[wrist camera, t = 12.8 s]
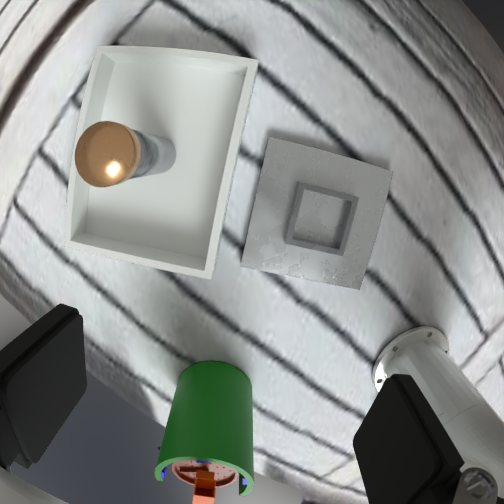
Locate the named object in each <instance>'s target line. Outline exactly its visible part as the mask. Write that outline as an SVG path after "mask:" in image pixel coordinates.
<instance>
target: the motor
mask: <svg viewBox="0 0 504 504" xmlns="http://www.w3.org/2000/svg"><path fill="white" fill-rule="evenodd" d="M171 463H172V471H173V473H174V474H175V475H176V476H177V477H178V478H179V479H180V480H182V481H184V482H186V483H188V484H191V485H194V493H193V502H192V504H214V499H215V489H216V488H219V487H225V486H228V485H230V484H232V483H234V482H235V481H236V480H237V478H238V472H239V495H240V496H243V497H244V496H246V495H247V494H249V493H250V492H251V491H252V489H253V487H254V466H253V415H252V386H251V383H250V380H249V379H248V377H247V376H246V375H245V374H244V373H243V372H242V371H241V370H239V369H238V368H236V367H234V366H232V365H230V364H227V363H223V362H218V361H204V362H199V363H196V364H193V365H191V366H189V367H188V368H187V369H185V370H184V371H183V372H182V374H181V376H180V378H179V381H178V384H177V388H176V392H175V395H174V399H173V403H172V406H171V410H170V414H169V418H168V421H167V425H166V429H165V433H164V437H163V441H162V445H161V449H160V452H159V457H158V460H157V464H156V469H155V477H156V479H157V480H159V481H163V479H164V478H165V474H166V470H167V465H169V464H171Z"/></svg>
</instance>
